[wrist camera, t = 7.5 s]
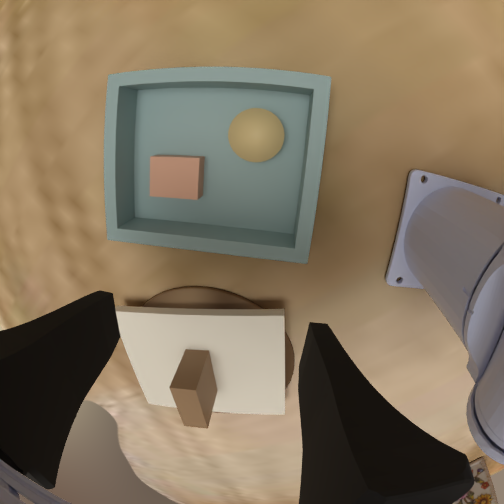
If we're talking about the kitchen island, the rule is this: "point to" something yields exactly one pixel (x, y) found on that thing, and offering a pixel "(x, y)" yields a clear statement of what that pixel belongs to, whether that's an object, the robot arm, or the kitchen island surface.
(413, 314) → the kitchen island surface
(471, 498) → the decorative jar
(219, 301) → the trivet
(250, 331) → the lid
